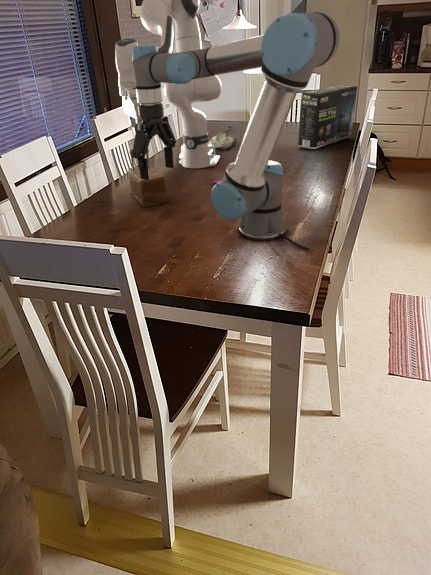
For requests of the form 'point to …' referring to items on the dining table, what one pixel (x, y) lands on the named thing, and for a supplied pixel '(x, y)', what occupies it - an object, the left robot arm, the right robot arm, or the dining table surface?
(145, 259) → the dining table surface
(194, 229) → the dining table surface
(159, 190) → the chest
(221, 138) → the fossil
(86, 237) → the dining table surface
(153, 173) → the lid
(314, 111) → the router box
